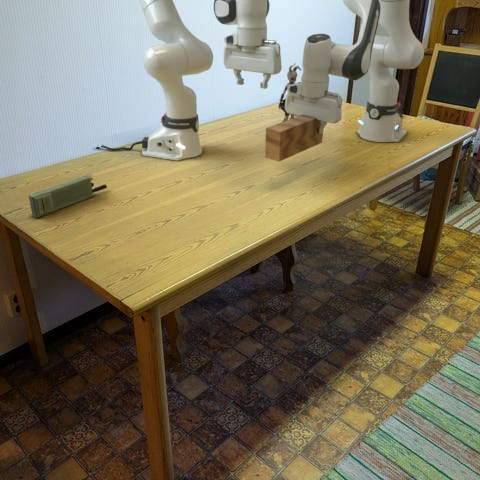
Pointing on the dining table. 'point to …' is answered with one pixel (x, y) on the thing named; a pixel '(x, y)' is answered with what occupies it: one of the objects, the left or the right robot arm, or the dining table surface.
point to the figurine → (292, 79)
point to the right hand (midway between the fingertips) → (311, 131)
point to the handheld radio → (62, 195)
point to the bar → (292, 137)
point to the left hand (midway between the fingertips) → (251, 86)
